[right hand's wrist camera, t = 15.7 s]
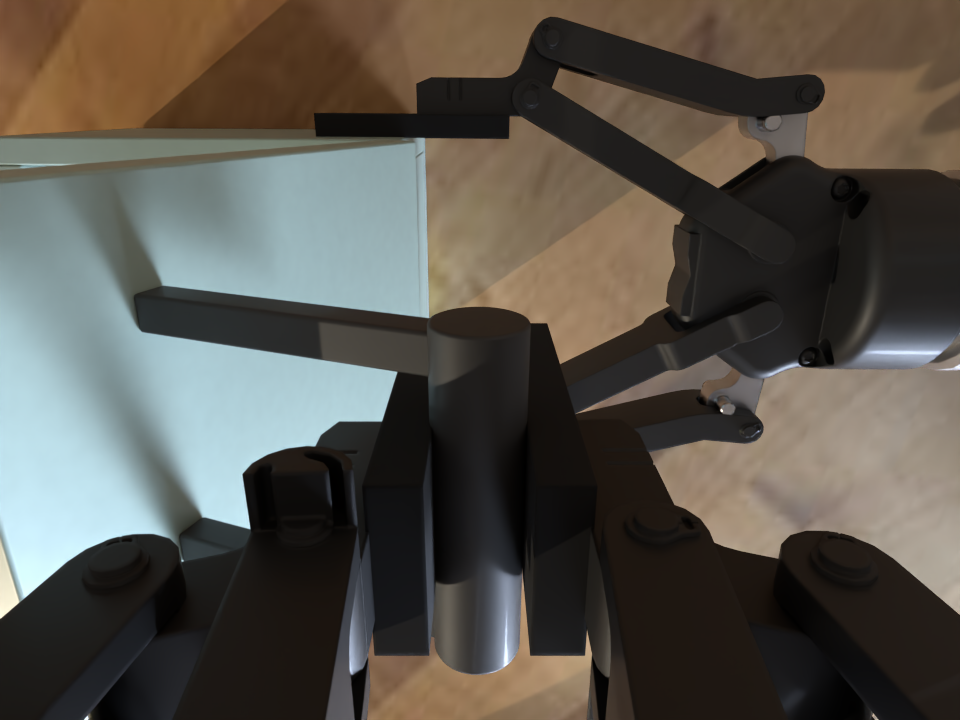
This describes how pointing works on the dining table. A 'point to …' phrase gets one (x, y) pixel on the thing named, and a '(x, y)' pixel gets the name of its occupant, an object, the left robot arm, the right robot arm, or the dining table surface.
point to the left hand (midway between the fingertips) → (334, 267)
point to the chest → (192, 142)
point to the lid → (243, 363)
